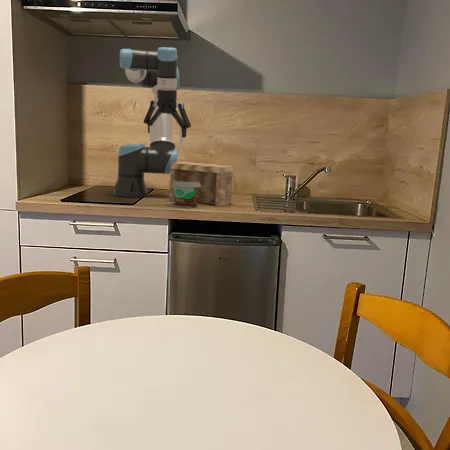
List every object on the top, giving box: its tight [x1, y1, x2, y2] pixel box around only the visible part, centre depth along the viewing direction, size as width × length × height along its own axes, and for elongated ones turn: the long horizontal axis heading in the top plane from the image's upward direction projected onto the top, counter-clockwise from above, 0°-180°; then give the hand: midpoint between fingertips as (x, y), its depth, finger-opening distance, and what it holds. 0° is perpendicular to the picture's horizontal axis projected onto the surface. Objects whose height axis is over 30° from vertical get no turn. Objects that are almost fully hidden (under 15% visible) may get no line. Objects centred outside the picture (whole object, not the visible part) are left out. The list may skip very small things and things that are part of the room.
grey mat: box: [164, 202, 195, 209], centre depth 218 cm, size 11×8×1 cm
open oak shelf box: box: [169, 161, 234, 208], centre depth 231 cm, size 24×12×16 cm, turn 67°
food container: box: [172, 180, 201, 207], centre depth 217 cm, size 12×6×10 cm, turn 68°
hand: (166, 143), depth 213 cm, fingers open, 13 cm apart
